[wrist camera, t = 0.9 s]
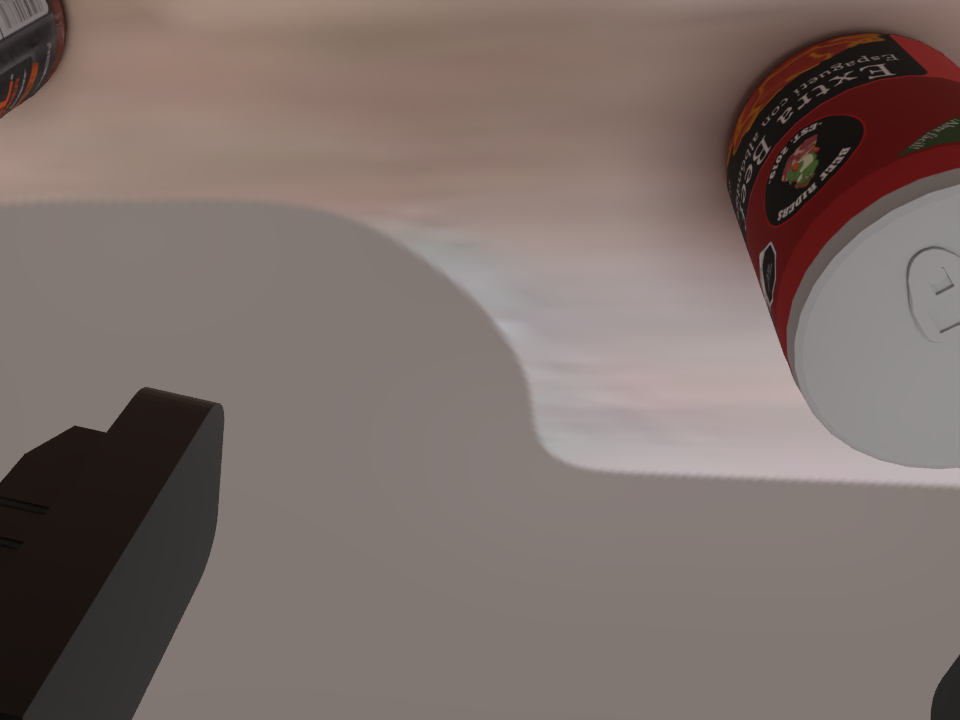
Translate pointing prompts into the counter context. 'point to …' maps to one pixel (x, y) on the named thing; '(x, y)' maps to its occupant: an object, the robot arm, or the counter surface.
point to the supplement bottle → (28, 48)
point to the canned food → (861, 237)
